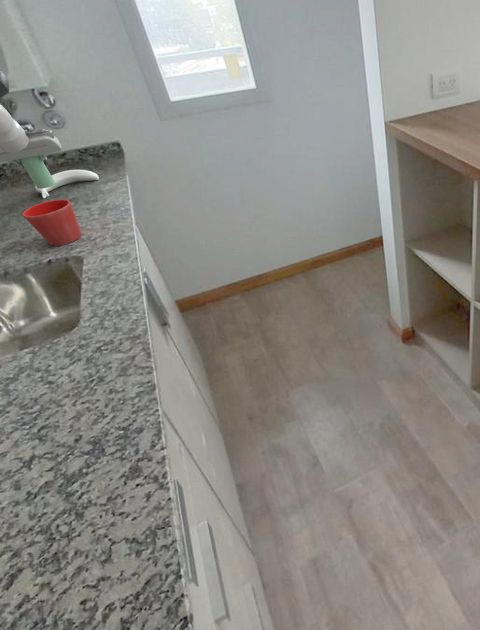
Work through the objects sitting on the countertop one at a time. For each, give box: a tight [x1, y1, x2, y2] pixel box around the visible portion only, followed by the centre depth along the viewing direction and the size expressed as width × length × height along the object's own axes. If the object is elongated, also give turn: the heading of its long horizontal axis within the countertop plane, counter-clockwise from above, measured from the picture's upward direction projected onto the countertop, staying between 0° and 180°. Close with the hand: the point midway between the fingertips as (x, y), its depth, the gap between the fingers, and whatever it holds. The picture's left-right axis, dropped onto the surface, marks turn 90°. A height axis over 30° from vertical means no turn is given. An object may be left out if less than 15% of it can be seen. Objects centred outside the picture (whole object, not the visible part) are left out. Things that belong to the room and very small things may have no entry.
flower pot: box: [22, 199, 83, 247], centre depth 121 cm, size 11×11×10 cm
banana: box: [34, 169, 100, 199], centre depth 158 cm, size 5×19×15 cm
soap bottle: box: [20, 155, 56, 189], centre depth 140 cm, size 5×5×15 cm
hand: (32, 161), depth 140 cm, fingers closed on soap bottle, 5 cm apart
